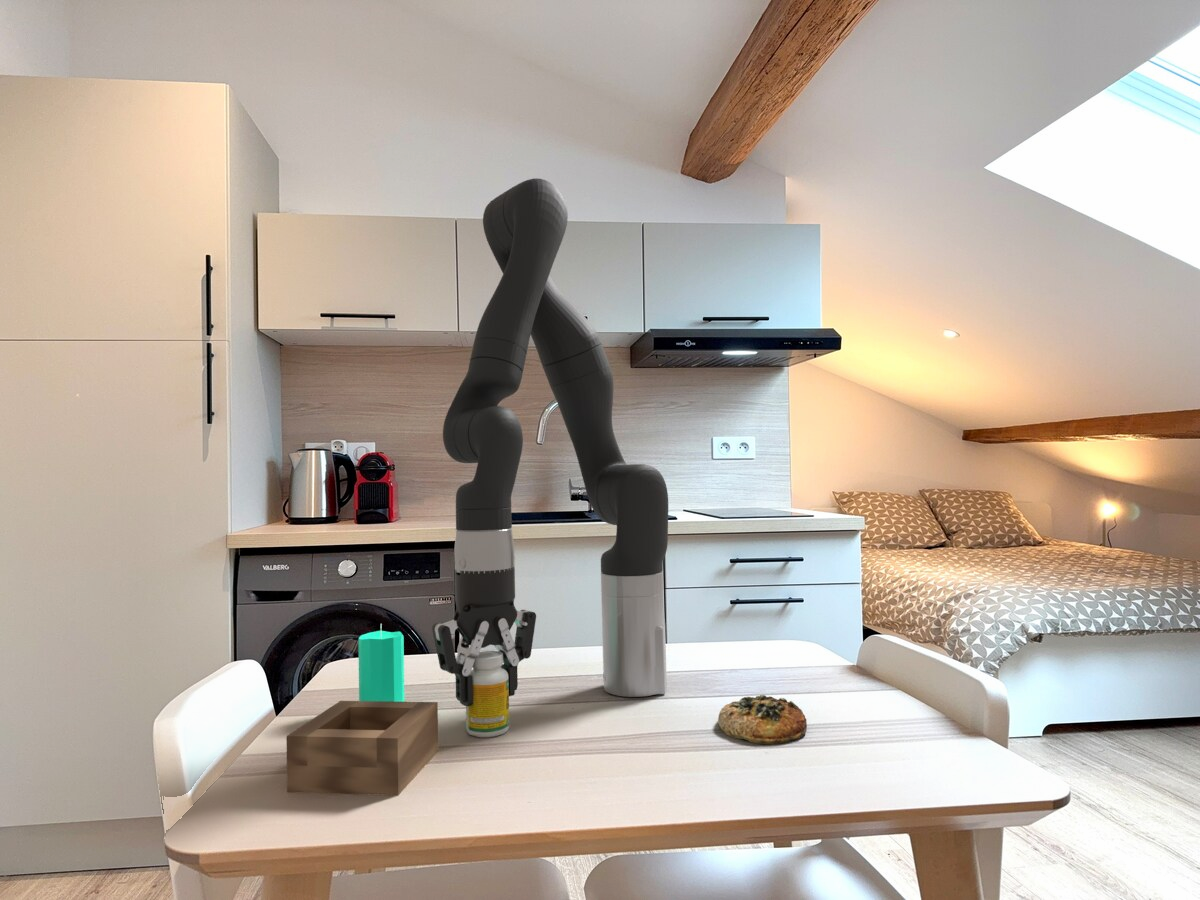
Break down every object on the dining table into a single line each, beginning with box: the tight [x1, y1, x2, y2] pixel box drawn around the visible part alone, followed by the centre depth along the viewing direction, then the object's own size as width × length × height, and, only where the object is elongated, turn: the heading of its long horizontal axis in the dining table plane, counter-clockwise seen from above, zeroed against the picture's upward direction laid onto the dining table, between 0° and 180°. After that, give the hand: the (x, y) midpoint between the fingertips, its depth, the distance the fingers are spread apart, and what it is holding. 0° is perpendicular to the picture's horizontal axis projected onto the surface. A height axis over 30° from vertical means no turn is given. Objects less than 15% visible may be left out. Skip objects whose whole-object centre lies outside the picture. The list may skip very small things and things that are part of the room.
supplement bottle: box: [465, 650, 510, 738], centre depth 94 cm, size 5×5×10 cm
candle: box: [357, 623, 406, 702], centre depth 103 cm, size 6×6×12 cm
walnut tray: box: [285, 700, 439, 796], centre depth 82 cm, size 12×12×6 cm
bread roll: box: [717, 694, 808, 745], centre depth 92 cm, size 11×11×5 cm
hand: (487, 699), depth 94 cm, fingers closed on supplement bottle, 5 cm apart
